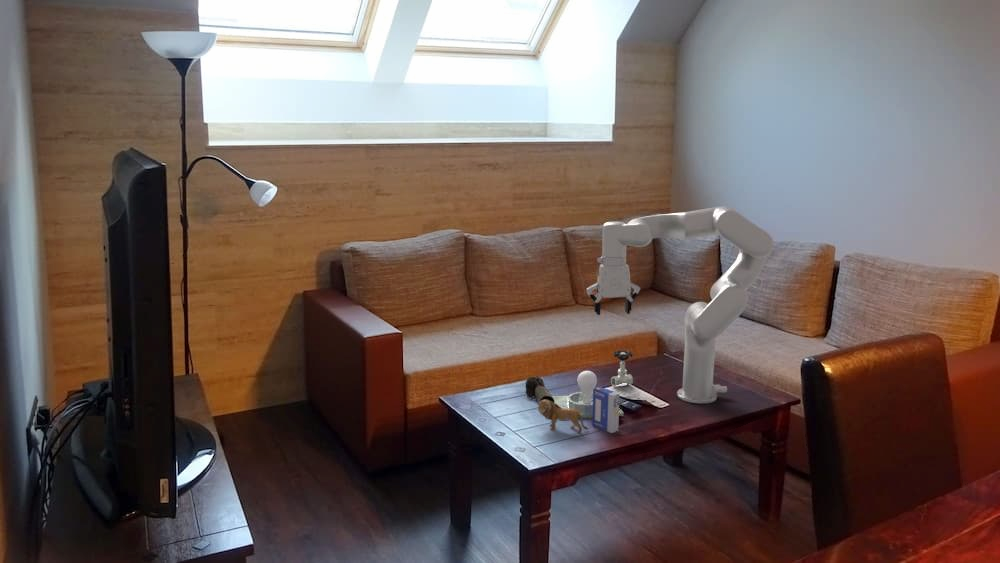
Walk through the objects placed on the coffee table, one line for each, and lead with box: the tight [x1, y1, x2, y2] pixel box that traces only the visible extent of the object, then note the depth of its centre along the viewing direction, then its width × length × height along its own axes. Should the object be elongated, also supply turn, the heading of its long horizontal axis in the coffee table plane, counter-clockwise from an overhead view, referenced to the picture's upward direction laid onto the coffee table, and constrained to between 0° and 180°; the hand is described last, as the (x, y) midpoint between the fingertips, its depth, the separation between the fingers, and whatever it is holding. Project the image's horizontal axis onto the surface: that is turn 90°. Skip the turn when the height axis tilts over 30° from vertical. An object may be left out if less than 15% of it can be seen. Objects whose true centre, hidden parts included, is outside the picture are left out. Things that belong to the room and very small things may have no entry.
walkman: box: [591, 386, 620, 434], centre depth 236 cm, size 8×3×12 cm, turn 42°
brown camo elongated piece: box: [525, 375, 555, 403], centre depth 260 cm, size 18×7×6 cm, turn 11°
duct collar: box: [551, 391, 625, 419], centre depth 252 cm, size 20×16×3 cm
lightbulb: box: [576, 370, 598, 405], centre depth 251 cm, size 6×6×11 cm
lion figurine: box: [537, 399, 589, 434], centre depth 235 cm, size 15×5×9 cm, turn 83°
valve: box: [610, 349, 634, 387], centre depth 270 cm, size 7×7×12 cm
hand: (612, 313), depth 256 cm, fingers open, 9 cm apart
